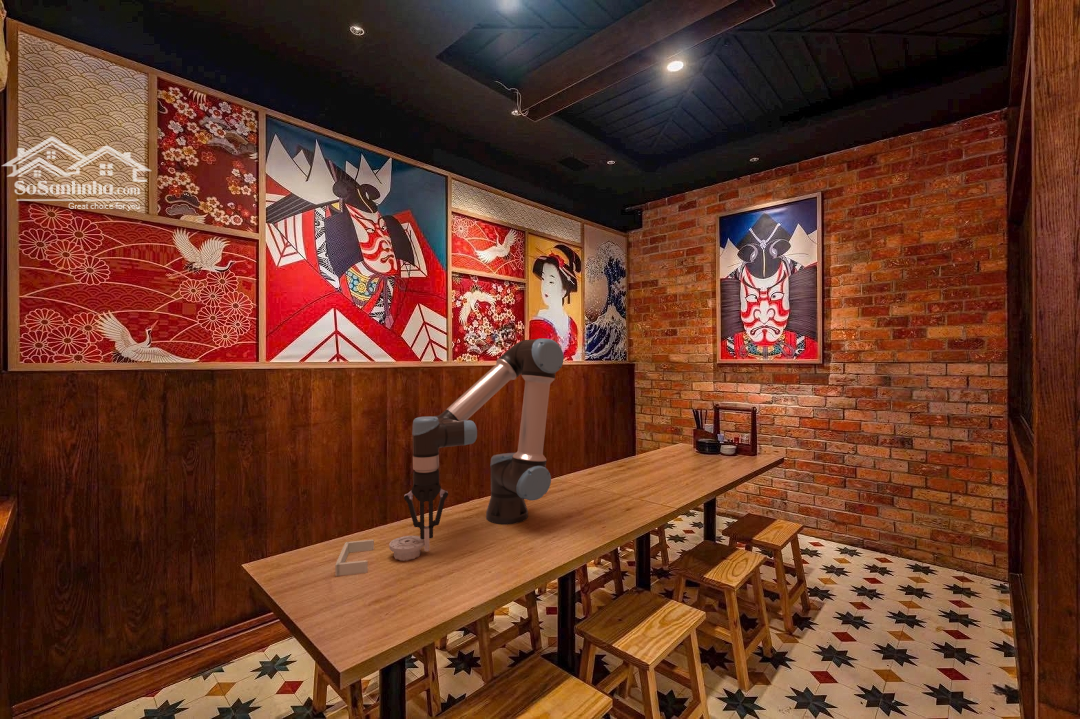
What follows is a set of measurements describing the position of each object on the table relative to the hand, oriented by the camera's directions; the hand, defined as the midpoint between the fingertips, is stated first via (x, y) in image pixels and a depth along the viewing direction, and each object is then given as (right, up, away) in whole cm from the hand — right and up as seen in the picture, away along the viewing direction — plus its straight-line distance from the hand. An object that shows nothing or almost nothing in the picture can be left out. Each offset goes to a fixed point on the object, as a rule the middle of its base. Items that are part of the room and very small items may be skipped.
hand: (426, 549), depth 135 cm
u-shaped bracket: (-18, -2, -4) cm, 19 cm away
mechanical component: (-11, +1, -1) cm, 11 cm away
